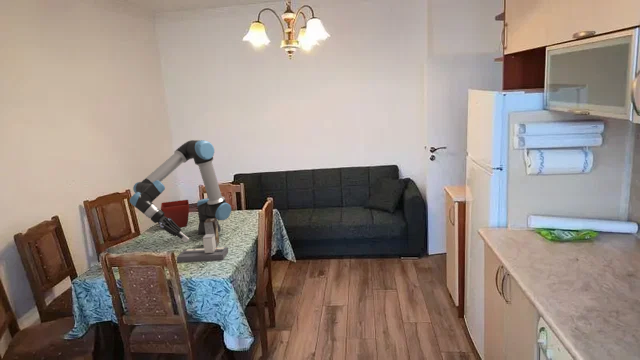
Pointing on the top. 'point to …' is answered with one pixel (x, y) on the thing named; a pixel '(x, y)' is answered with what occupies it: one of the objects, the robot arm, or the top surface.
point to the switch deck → (202, 255)
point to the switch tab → (209, 243)
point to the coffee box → (212, 228)
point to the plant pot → (177, 211)
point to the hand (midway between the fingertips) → (187, 240)
